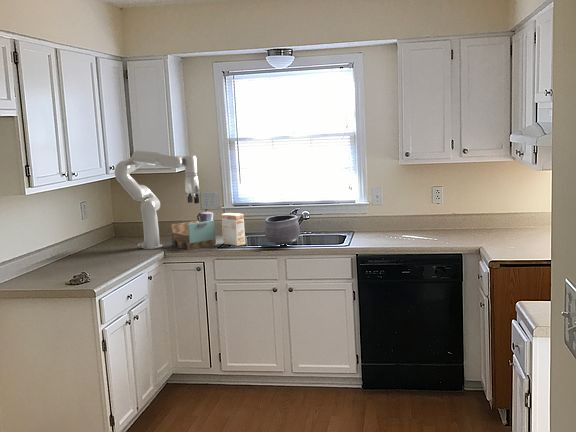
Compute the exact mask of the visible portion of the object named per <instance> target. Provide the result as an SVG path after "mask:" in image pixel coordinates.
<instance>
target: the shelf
mask: <svg viewBox="0 0 576 432" xmlns="http://www.w3.org/2000/svg"><path fill="white" fill-rule="evenodd" d="M199 221H200V220H199ZM199 221H198V220H194V221H188V222H187V221H186V222H181V223H173V224H171V226H170V227H171V228H170V229H171V239H172V240H171V245H172V247H174V248H180V249H182V250H193V249H200V248H205V247H211V246H215V245H216V242H217V240H216V239H217V238H216V239H213V240H207V241H201V242H195V243H189V234H188V224H192V223H199Z"/></svg>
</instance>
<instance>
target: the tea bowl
mask: <svg viewBox="0 0 576 432" xmlns="http://www.w3.org/2000/svg"><path fill="white" fill-rule="evenodd" d="M264 221H265V222H264V223H265V224H264V235H265V239H266V241H267V242H268V243H273V244H274V245H288V244H291V243H292V242H296V241H297V240H298V239H299V237H300V234H301V230H300V224H299V217H298V215H293V214H292V215H291V214H281V215H280V214H279V215H273V216H269V217H267V218H265V219H264Z"/></svg>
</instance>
